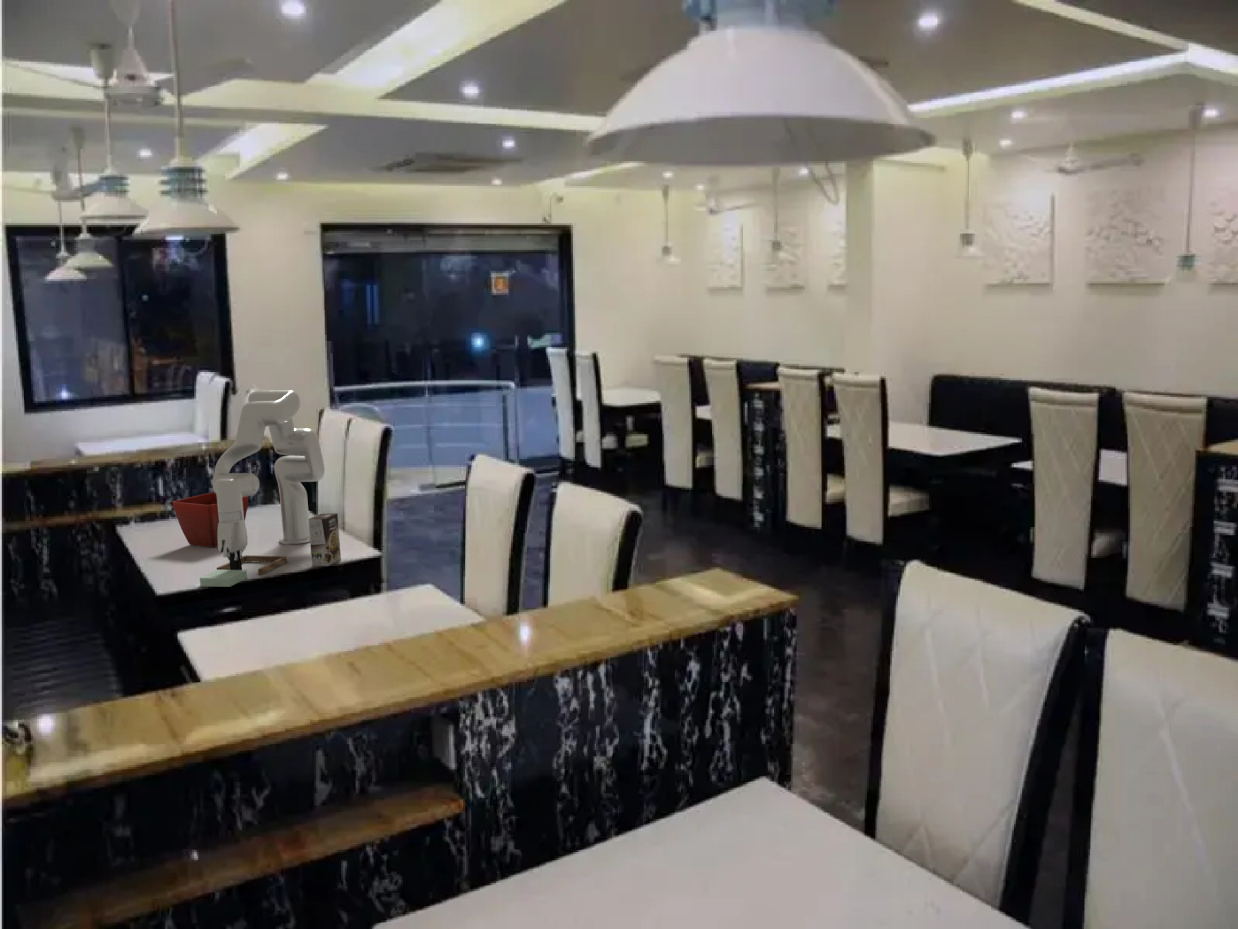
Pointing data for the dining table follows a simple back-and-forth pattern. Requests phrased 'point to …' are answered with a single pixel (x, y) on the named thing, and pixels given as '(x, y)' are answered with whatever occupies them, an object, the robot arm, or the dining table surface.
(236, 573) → the cover plate
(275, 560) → the u-shaped wooden frame
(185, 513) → the plant pot
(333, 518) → the coffee box
